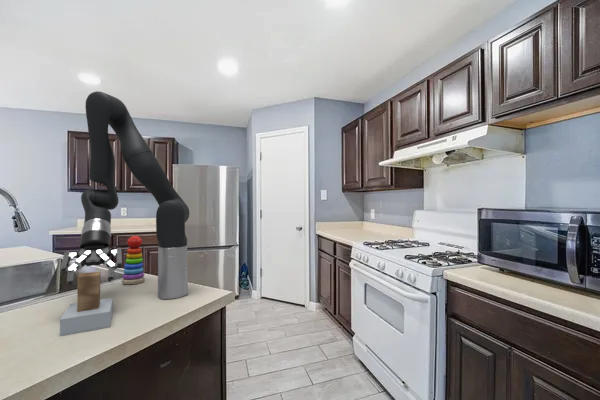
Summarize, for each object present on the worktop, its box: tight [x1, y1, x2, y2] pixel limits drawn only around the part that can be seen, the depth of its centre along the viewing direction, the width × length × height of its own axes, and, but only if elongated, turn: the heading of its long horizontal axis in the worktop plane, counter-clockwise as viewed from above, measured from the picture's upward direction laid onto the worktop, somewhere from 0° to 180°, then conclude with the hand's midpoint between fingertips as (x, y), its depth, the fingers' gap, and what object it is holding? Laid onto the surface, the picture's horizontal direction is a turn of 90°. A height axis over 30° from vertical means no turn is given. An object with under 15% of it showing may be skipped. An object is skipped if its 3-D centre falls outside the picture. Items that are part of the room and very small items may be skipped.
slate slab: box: [59, 297, 114, 337], centre depth 76 cm, size 10×12×4 cm
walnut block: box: [76, 271, 101, 312], centre depth 76 cm, size 4×4×9 cm
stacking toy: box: [121, 235, 145, 286], centre depth 113 cm, size 8×8×19 cm
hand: (91, 282), depth 78 cm, fingers open, 8 cm apart
